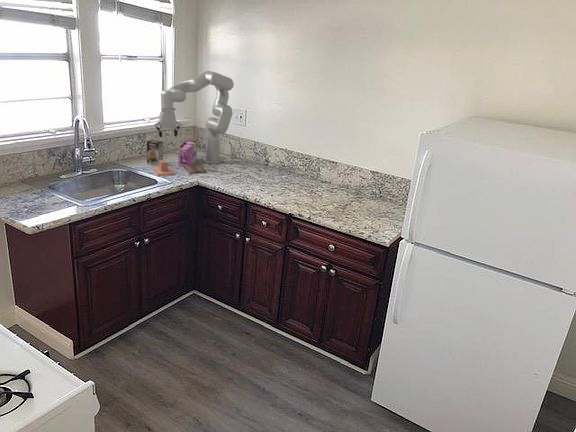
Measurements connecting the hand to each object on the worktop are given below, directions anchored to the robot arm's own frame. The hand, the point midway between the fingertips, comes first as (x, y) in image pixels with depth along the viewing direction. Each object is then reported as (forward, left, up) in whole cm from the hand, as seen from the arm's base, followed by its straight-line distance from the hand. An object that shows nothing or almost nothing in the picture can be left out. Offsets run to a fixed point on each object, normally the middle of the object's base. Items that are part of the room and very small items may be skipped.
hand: (168, 136), depth 304 cm
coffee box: (+6, -10, -22) cm, 25 cm away
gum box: (-16, -10, -22) cm, 29 cm away
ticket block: (-16, +8, -21) cm, 28 cm away
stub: (+6, +8, -21) cm, 23 cm away
